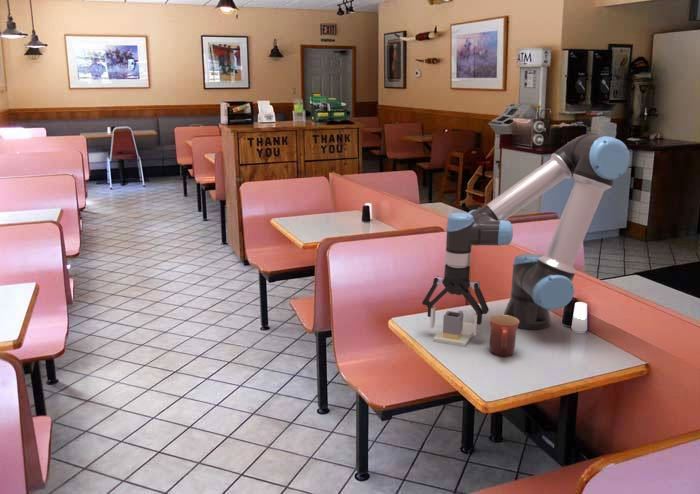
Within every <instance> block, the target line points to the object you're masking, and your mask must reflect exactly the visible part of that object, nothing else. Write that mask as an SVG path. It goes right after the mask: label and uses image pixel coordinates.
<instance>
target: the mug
mask: <svg viewBox="0 0 700 494" xmlns="http://www.w3.org/2000/svg"><path fill="white" fill-rule="evenodd" d="M488 321H489V325H490V334H489V335H490V336H489V345H488V346H489V351H490V353H492V354H494V355H495V354H496V356H498V355H499V356H498V357H509V356H511V355H514V352H515V349H516V340H517V339H516V335H517V330H518V325H519V323H520V321H519V320H518V319H517V318H515V317H512V316H508V315H504V314H494V315H493V314H492V315H490V316H489V318H488Z"/></svg>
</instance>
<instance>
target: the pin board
mask: <svg viewBox="0 0 700 494" xmlns="http://www.w3.org/2000/svg"><path fill="white" fill-rule="evenodd" d="M457 312H459V313H463V314H464V311H463V310H458V311H457ZM473 332H474V322H467V321H463V328H462V335H461V337H460V338H459V340H456V339H450V338H444V337H442V336H443V325H442V327H440V329H439V330H438V332H436V334H435V336H434V337H433V338H432V340H433V342H435V343H441V344H448V345H453V346H458V347H463V348H464V347H465V348H466V346H467V345H468V344H469V342H470V341H471V339H472V338H473V336H474V335H473Z"/></svg>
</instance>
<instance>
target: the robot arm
mask: <svg viewBox="0 0 700 494" xmlns="http://www.w3.org/2000/svg"><path fill="white" fill-rule="evenodd" d="M630 161H631V156H630V151H629V148H628V147H627V145H626V144H625V142H623V141H622V140H620V139H617V138H615V137H613V136H608V135H599V134H594V133H586V134H582V135H580V136H578V137H575V138H574V139H572V140H570V141H569V142H567V143H566V144H564V145H563V146H561V147H560V148H559V149H557V150H556V151H555V152H553V153H551V156H550V159H549V160H548V161H546V162H545V163H542V165H541V166H539V167H537V168H536V169H535V170H533V171H531V173H529V174H527V175H526V176H525V177H524V178H523V177H522V179H521V180H519V181H517V182H516V183H515V184H513V185H512V186H510V188H508V189H506V190H505V191H504V192H502V193H501V194H500V195H498V196H497V197H495V198H493V199H492V200H491V201H490V202H488V203H487V204H485V205H484V206H482V207H481V208H479V209H472V210H470V211H468V213H466V212H453V213H450V214H449V215H448V217H447V224H446V239H445V241H446V242H445V244H446V245H445V257H444V262H445V264H444V277H443V278H442V277H440V276H439V275H436V276H435V277H434V278H433V281H432V286H431V287H430V289H429V291H428V292H427V293H426V296H425V297H424V298H423V301H422V306H425V307H427V318H429V319H430V321H429V322H430V324H429V328H430V329H433V328H434V327H435V326H436V325H435V324H436V307H437V306H435V304H436V303H438V302H439V300H441V298H443V296H445V295H446V294H447V293H448V294H450V295H456V296H461V295H462V296H463V297H464V299H466V300H467V302H468V303H469V305H470V306H471V307H472V309H473V310H474V311H475V313H474V318H473V319H474V320H473V323H474V332H473V335H472V336H476V335H478V333H479V332H478V331H479V326H481V324H482V322H483V315H487V314H488V313H489V312H490V309H489V307H488V304H487V302H486V299H485V297H484V294H483V292H482V290H481V284H480V281H479V280H478V281H475V282H471V281H470V275H471V273H470V272H471V266H470V264H471V258H472V257H471V256H472V247H473V246H493V247H494V246H496V247H497V246H498V247H501V246H509V244H511V243H512V240H513V236H514V229H513V224H512V223H511V221H509V220H507V219H509V218H510V217H512V216H513V215H514V214H516V213H518V212H519V211H520V210H522V209H523V208H524V207H526V206H528V205H529V204H531V203H532V202H533V201H534V200H536V199H537V198H539V197H541V196H542V195H543V194H545V193H546V192H547V191H549V190H550V189H551V188H553V187H555V186H556V185H557V184H559V183H561V182H562V181H563V180H564V179H569V180H570V179H572V178H573V179H574V180H575V181H574V184H573V187H572V188H571V192H570V195H569V197H568V199H567V202H566V203H565V206H564V209H563V212H562V213H561V216H560V218H559V222H558V224H557V226H556V228H555V231H554V233H553V236H552V238H551V240H550V243H549V246H548V249H547V251H546V253H545V254H536V253H535V254H534V253H533V254H532V253H524V254H517V255H516V256H515V257H514V259H513V264H512V277H511V290H510V298H509V300H508V303H507V305H506V307H505V310H504V312H503V315H508V316H512V317H515V318H517V319H518V320H519V321H520V323H519V325H518V327H517V329H518V328H519V329H523V330H524V329H525V330H543V329H546V328H549V326H550V325H551V315H550V311H557V310H560V309H562V308H564V307H566V306H567V305H568V304H569V303H570V302H571V301H572V300H573V297H574V294H575V287H574V284H573V279H574V277H575V274H576V269H575V268H574V264H575V261H576V259H577V256H578V254H579V251H580V249H581V247H582V245H583V242H584V240H585V237H586V235H587V234H588V230H589V227H590V226H591V223H592V220H593V219H594V217H595V213H596V211H597V209H598V206H599V204H600V201H601V199H602V196H603V194H604V192H606V191H607V190H609V189H612V187H613V184H614V183H615V181H616V179H618V178H619V177H621V176H623V175H624V174H625V173H626V171H627V169H628V168H629V165H630ZM441 284H442V285H443V286H444V288H443V290H442V291H440V292H439V294H437V295H436V296H435V297H434V298H433V299H432V300H431V301H430V299H431V297H432V296H433V294H434V292H435V291H436V290H437V288H438V286H440V285H441ZM470 287H471V288H472V290H474V294H475V296H476V298H477V300H478V302H477V300H476V299H475V298H474V297H473V295H472V294H471V291H470V289H469V288H470Z"/></svg>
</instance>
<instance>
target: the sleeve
mask: <svg viewBox="0 0 700 494" xmlns="http://www.w3.org/2000/svg"><path fill="white" fill-rule="evenodd" d="M442 320H443V322H442V323H443V324H442V326H443V336H442V337H444V338H450V339H456V340H459V338H460V337H461V335H462V328H463V322H464V312H463V313H459V312H458V311H451V310H447V311H446V312H445V314H443V319H442Z"/></svg>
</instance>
